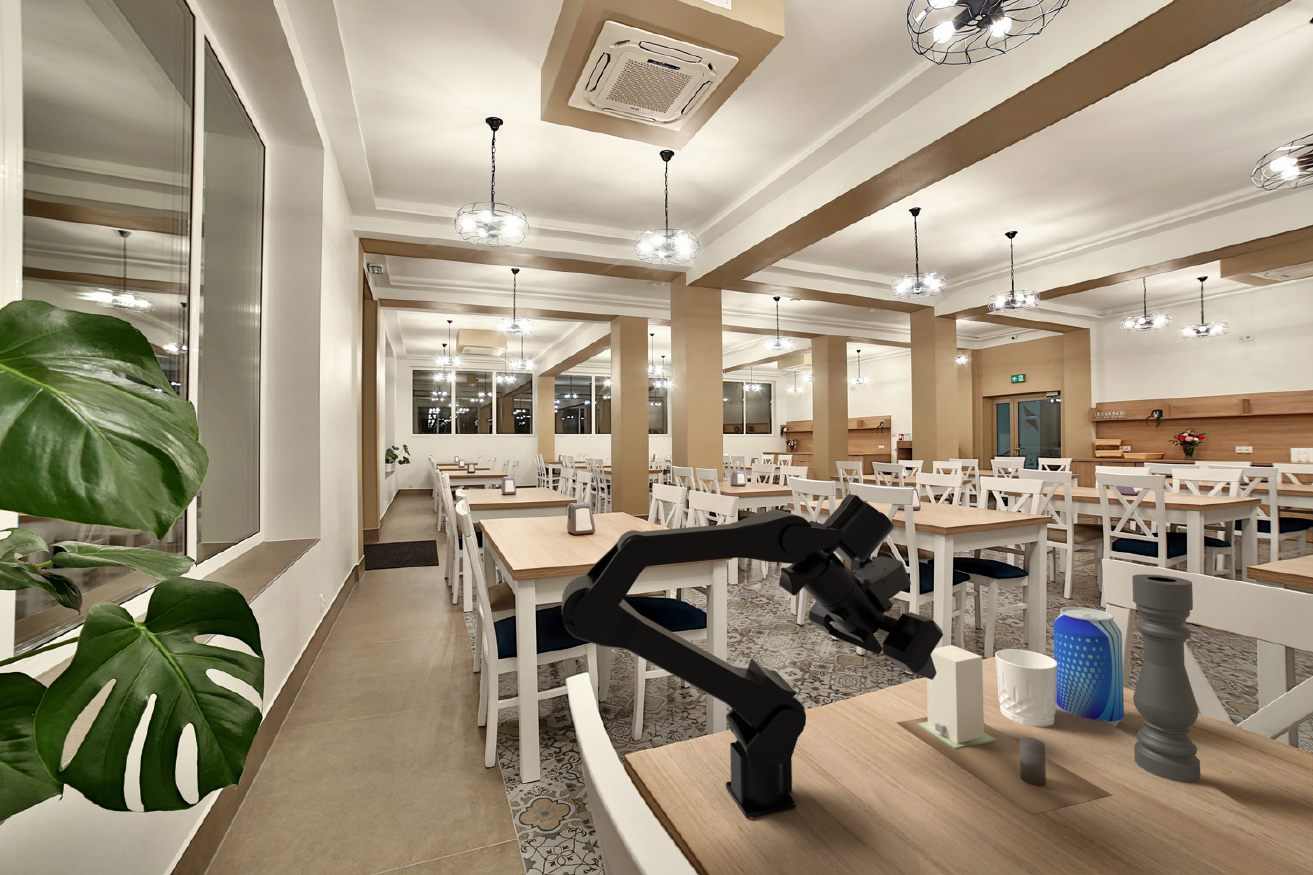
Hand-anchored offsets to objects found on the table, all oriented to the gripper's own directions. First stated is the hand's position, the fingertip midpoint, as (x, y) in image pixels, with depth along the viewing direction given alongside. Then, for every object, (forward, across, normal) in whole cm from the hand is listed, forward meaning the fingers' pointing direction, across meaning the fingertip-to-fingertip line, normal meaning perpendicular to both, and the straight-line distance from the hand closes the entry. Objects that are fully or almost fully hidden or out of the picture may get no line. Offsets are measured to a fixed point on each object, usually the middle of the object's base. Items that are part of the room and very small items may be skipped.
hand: (905, 663), depth 76 cm
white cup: (+27, +2, -8) cm, 28 cm away
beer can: (+35, 0, -16) cm, 38 cm away
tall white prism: (+16, +2, +1) cm, 16 cm away
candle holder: (+29, -15, -10) cm, 34 cm away
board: (+17, -4, +2) cm, 18 cm away
